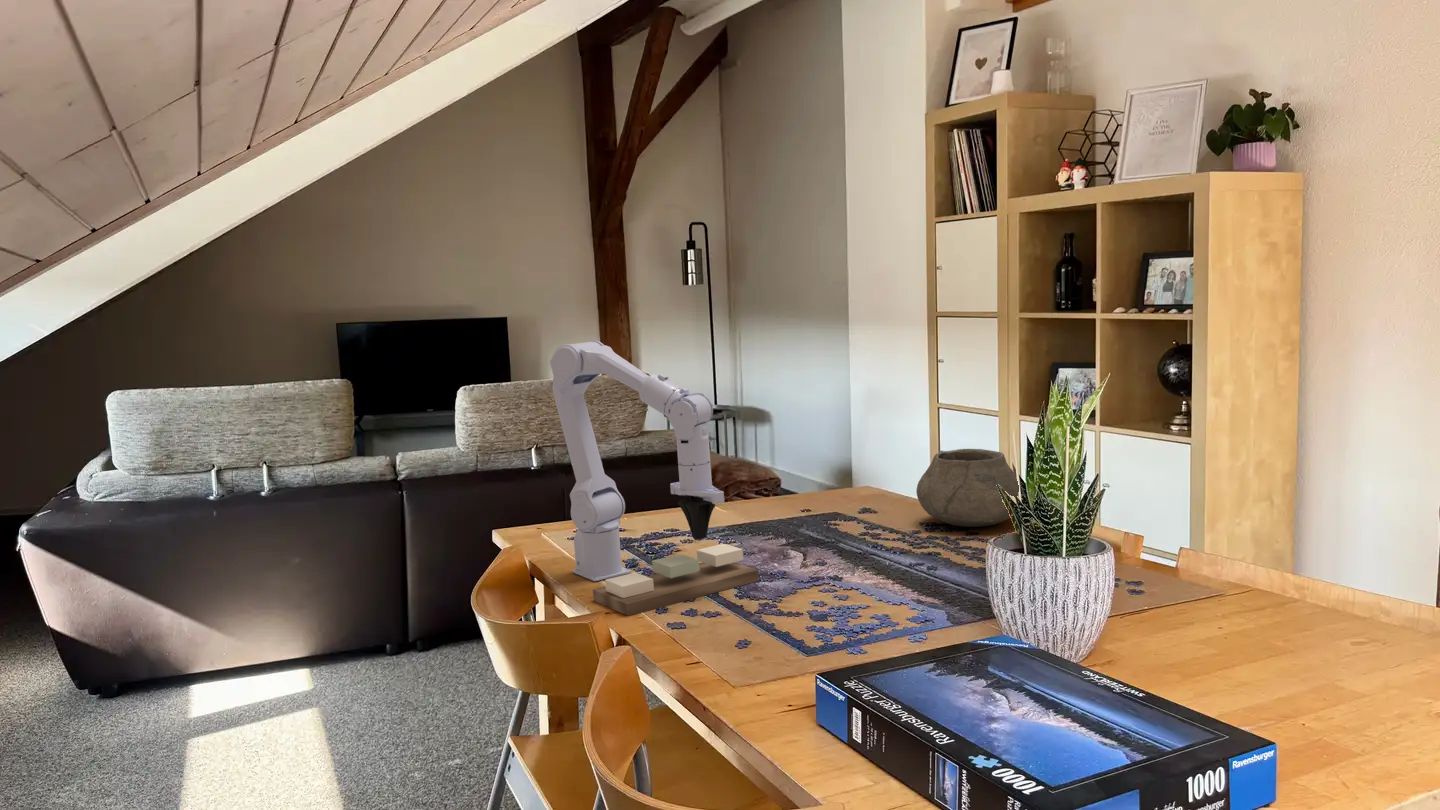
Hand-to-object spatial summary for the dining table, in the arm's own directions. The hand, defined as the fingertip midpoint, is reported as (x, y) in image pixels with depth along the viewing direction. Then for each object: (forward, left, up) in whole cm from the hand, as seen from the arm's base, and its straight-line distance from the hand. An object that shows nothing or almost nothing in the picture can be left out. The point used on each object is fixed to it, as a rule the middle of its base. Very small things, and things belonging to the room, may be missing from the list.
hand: (699, 538), depth 186 cm
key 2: (0, +4, -5) cm, 6 cm away
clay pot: (+6, +64, -9) cm, 65 cm away
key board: (0, -5, -8) cm, 10 cm away
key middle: (0, -5, -5) cm, 7 cm away
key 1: (0, -15, -6) cm, 16 cm away
